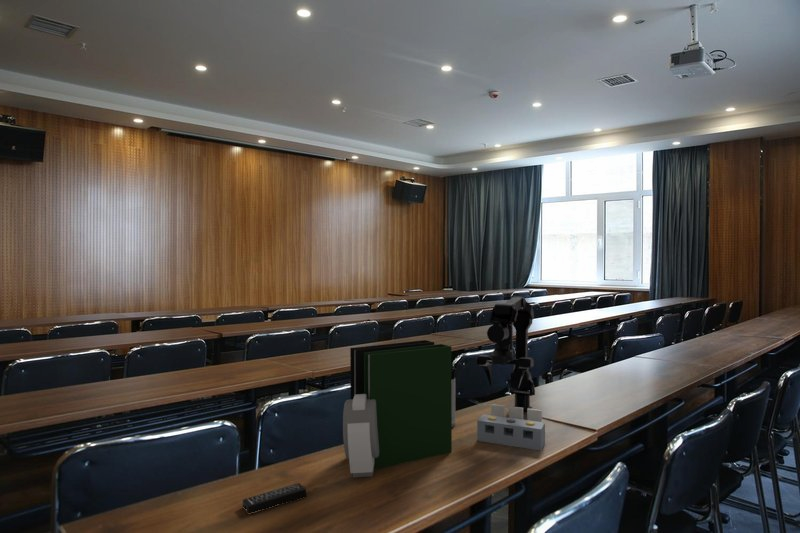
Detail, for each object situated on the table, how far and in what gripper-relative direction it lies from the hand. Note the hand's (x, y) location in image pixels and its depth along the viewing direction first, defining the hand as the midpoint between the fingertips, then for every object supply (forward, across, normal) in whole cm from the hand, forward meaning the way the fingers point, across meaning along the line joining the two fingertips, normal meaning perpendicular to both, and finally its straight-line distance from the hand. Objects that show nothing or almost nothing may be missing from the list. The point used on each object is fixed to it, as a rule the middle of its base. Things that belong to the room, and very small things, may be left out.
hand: (504, 386), depth 169 cm
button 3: (+12, +10, -5) cm, 17 cm away
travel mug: (+15, -20, -2) cm, 25 cm away
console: (+16, +4, -9) cm, 18 cm away
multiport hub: (+20, -38, -72) cm, 84 cm away
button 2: (+12, +4, -5) cm, 14 cm away
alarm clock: (+17, -28, -47) cm, 57 cm away
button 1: (+12, -2, -5) cm, 13 cm away
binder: (+17, -24, -32) cm, 43 cm away
